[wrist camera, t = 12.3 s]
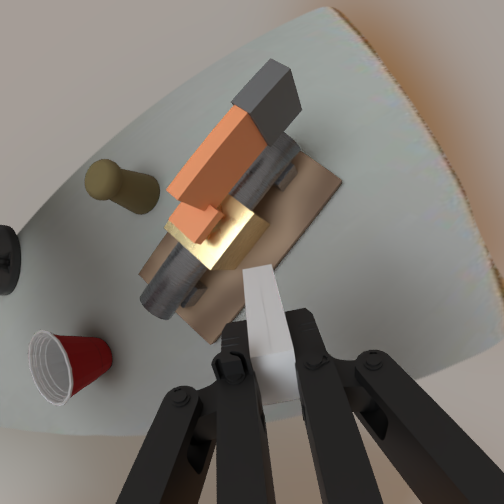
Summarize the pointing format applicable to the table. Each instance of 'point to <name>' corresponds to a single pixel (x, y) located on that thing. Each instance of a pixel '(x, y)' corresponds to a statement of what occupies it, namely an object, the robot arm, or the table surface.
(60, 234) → the table surface
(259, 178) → the valve body
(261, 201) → the mounting board
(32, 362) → the plastic cup
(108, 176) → the cork
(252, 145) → the valve lever
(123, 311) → the table surface
